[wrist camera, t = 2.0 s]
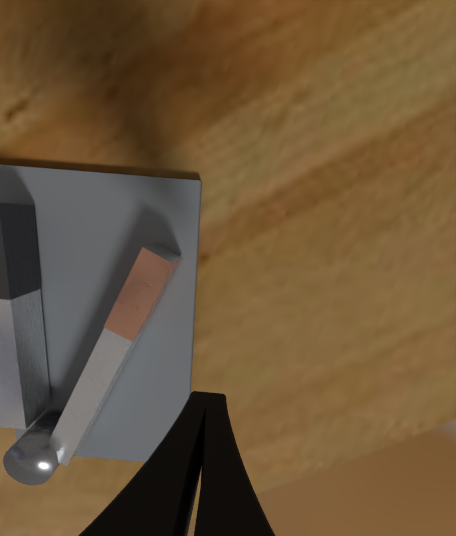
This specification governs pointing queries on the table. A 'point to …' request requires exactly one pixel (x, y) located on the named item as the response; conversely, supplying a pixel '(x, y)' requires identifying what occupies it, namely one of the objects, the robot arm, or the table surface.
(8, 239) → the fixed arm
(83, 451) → the slate mat
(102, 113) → the table surface
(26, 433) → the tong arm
